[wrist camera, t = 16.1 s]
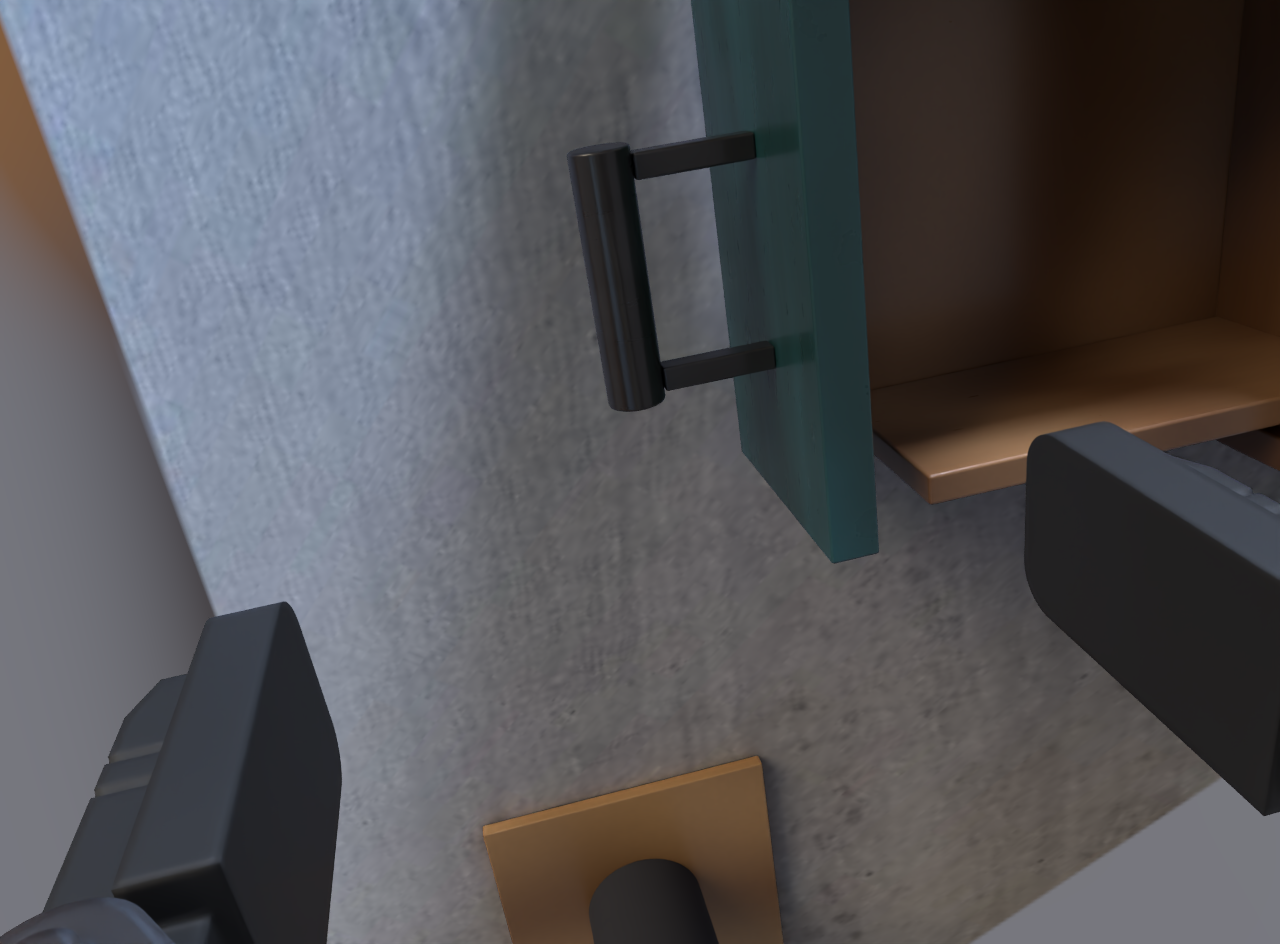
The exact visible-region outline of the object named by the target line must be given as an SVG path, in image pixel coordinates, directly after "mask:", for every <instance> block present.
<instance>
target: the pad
mask: <svg viewBox="0 0 1280 944" xmlns="http://www.w3.org/2000/svg"><path fill="white" fill-rule="evenodd" d="M483 837H484V840H485V844H486V848H487V851H488V855H489V859H490V862H491V866H492V870H493V873H494V877H495V881H496V884H497V888H498V891H499V895H500V899H501V902H502V906H503V910H504V913H505V917H506V921H507V924H508V928H509V932H510V935H511V939H512V942H513V944H594V940H593V935H592V930H591V925H590V919H589V906H590V901H591V899H592V896H593V894H594V892H595V890H596V889H597V887H598V886H599V885H600V883H601V882H602V881H603V880H604V879H605V878H606V877H607V876H609V875H610V874H611V873H613V872H614V871H616V870H617V869H619V868H621V867H623V866H625V865H627V864H630V863H633V862H636V861H640V860H645V859H666V860H670V861H674V862H677V863H679V864H681V865H683V866H685V867H686V868H687V869H689V870H690V871H691V872H692V873H693V874H694V876H695V877H696V879H697V881H698V883H699V886H700V889H701V892H702V894H703V897H704V900H705V903H706V906H707V909H708V912H709V915H710V918H711V921H712V924H713V927H714V930H715V933H716V936H717V939H718V942H719V944H784V942H783V934H782V926H781V917H780V909H779V901H778V892H777V884H776V876H775V868H774V859H773V851H772V843H771V834H770V826H769V818H768V810H767V801H766V793H765V785H764V777H763V768H762V763H761V761H760V759H759V757H758V756H754V757H750V758H746V759H742V760H738V761H734V762H730V763H727V764H723V765H719V766H715V767H711V768H707V769H703V770H699V771H695V772H692V773H688V774H684V775H680V776H676V777H672V778H668V779H664V780H660V781H657V782H653V783H649V784H645V785H641V786H637V787H633V788H629V789H626V790H622V791H618V792H614V793H610V794H606V795H602V796H598V797H594V798H591V799H587V800H583V801H579V802H575V803H571V804H567V805H563V806H559V807H556V808H552V809H548V810H544V811H540V812H536V813H532V814H528V815H524V816H521V817H517V818H513V819H509V820H505V821H501V822H497V823H493V824H489V825H486V826H483Z"/></svg>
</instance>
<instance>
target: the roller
mask: <svg viewBox="0 0 1280 944" xmlns="http://www.w3.org/2000/svg"><path fill="white" fill-rule="evenodd" d="M589 919H590V925H591V930H592V935H593V940H594V944H719V942H718V939H717V936H716V933H715V930H714V927H713V924H712V921H711V918H710V915H709V912H708V909H707V906H706V903H705V900H704V897H703V894H702V892H701V889H700V886H699V883H698V881H697V879H696V877H695V876H694V874H693V873H692V872H691V871H690V870H689V869H687V868H686V867H685V866H683V865H681V864H679V863H677V862H674V861H670V860H666V859H645V860H640V861H636V862H633V863H630V864H627V865H625V866H623V867H621V868H619V869H617V870H616V871H614V872H613V873H611V874H610V875H609V876H607V877H606V878H605V879H604V880H603V881H602V882H601V883H600V885H599V886H598V887H597V889H596V890H595V892H594V894H593V896H592V899H591V901H590V906H589Z"/></svg>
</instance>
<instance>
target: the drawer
mask: <svg viewBox="0 0 1280 944" xmlns="http://www.w3.org/2000/svg"><path fill="white" fill-rule="evenodd" d="M691 6H692V15H693V24H694V32H695V41H696V50H697V59H698V68H699V77H700V85H701V94H702V103H703V112H704V121H705V130H706V137H704V138H699V139H693V140H687V141H682V142H676V143H670V144H665V145H659V146H653V147H648V148H642V149H636V150H631V151H630V146H629V144H627V143H607V144H600V145H593V146H588V147H583V148H579V149H576V150H573V151H570V152H569V153H568V154H567V160H568V166H569V172H570V178H571V184H572V190H573V195H574V201H575V207H576V213H577V219H578V225H579V231H580V237H581V243H582V249H583V255H584V261H585V267H586V273H587V279H588V284H589V290H590V296H591V302H592V308H593V314H594V320H595V326H596V332H597V338H598V344H599V350H600V356H601V362H602V368H603V373H604V379H605V385H606V391H607V397H608V403H609V406H610V407H611V408H612V409H614V410H617V411H625V412H630V411H640V410H645V409H648V408H651V407H654V406H656V405H658V404H660V403H661V402H663V400H664V399H665V389H666V390H667V391H670V390H675V389H679V388H684V387H689V386H694V385H699V384H704V383H708V382H713V381H718V380H723V379H728V378H732V377H733V378H734V386H735V395H736V404H737V413H738V422H739V431H740V439H741V448H742V452H743V453H744V454H745V456H746V457H747V458H748V459H749V461H750V462H751V463H752V464H753V466H754V467H755V468H756V469H757V471H758V472H759V473H760V474H761V476H762V477H763V478H764V479H765V481H766V482H767V483H768V484H769V485H770V487H771V488H772V489H773V490H774V492H775V493H776V494H777V495H778V497H779V498H780V499H781V500H782V502H783V503H784V504H785V505H786V507H787V508H788V509H789V510H790V511H791V513H792V514H793V515H794V516H795V518H796V519H797V520H798V521H799V523H800V524H801V525H802V526H803V528H804V529H805V530H806V531H807V533H808V534H809V535H810V536H811V538H812V539H813V540H814V541H815V542H816V544H817V545H818V546H819V547H820V549H821V550H822V551H823V552H824V554H825V555H826V556H827V557H828V559H829V560H830V561H831V562H832V563H839V562H843V561H847V560H851V559H856V558H860V557H864V556H869V555H873V554H877V553H878V552H879V543H878V525H877V507H876V488H875V470H874V455H875V456H876V457H877V458H878V459H879V460H880V461H881V462H882V463H884V464H885V465H886V466H887V467H888V468H889V469H890V470H891V471H893V472H894V473H895V474H896V475H897V476H898V477H899V478H900V479H902V480H903V481H904V482H905V483H906V484H907V485H908V486H909V487H911V488H912V489H913V490H914V491H915V492H916V493H917V494H919V495H920V496H921V497H922V498H923V499H924V500H925V501H926V502H928V503H929V504H937V503H942V502H946V501H950V500H955V499H959V498H963V497H968V496H972V495H977V494H981V493H985V492H990V491H994V490H998V489H1003V488H1007V487H1011V486H1016V485H1020V484H1024V483H1026V467H1027V454H1028V450H1029V447H1030V444H1031V443H1032V441H1033V440H1034V439H1035V438H1036V437H1037V436H1039V435H1042V434H1047V433H1051V432H1056V431H1060V430H1065V429H1069V428H1073V427H1078V426H1082V425H1087V424H1091V423H1096V422H1101V421H1107V422H1111V423H1113V424H1115V425H1117V426H1119V427H1121V428H1122V429H1124V430H1126V431H1128V432H1130V433H1131V434H1133V435H1135V436H1137V437H1138V438H1140V439H1142V440H1144V441H1146V442H1147V443H1149V444H1151V445H1153V446H1155V447H1156V448H1158V449H1160V450H1162V451H1168V450H1172V449H1176V448H1181V447H1185V446H1189V445H1194V444H1198V443H1202V442H1207V441H1211V440H1215V439H1220V438H1224V437H1229V436H1233V435H1237V434H1242V433H1246V432H1250V431H1255V430H1259V429H1263V428H1268V427H1272V426H1276V425H1280V0H691ZM709 167H710V174H711V183H712V192H713V201H714V209H715V218H716V227H717V236H718V245H719V254H720V262H721V271H722V280H723V289H724V298H725V307H726V316H727V324H728V333H729V342H730V348H726V349H721V350H716V351H711V352H706V353H702V354H697V355H692V356H687V357H682V358H677V359H672V360H667V361H662V362H661V361H660V354H659V347H658V340H657V333H656V327H655V320H654V313H653V306H652V299H651V292H650V285H649V278H648V271H647V264H646V257H645V250H644V243H643V236H642V229H641V222H640V215H639V208H638V201H637V194H636V187H635V180H634V178H635V179H637V180H642V179H648V178H653V177H659V176H664V175H670V174H676V173H681V172H687V171H692V170H698V169H703V168H709ZM664 387H665V389H664Z"/></svg>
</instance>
